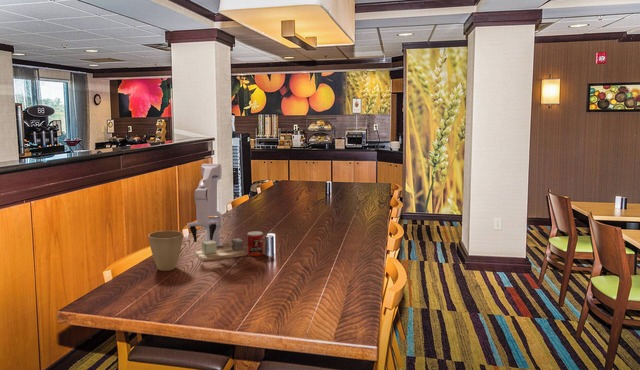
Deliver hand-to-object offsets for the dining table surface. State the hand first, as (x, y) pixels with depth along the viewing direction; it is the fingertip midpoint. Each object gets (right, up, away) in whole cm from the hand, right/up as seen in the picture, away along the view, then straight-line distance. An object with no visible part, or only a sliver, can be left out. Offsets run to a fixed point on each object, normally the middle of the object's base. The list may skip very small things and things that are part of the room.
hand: (203, 240), depth 240 cm
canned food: (+24, -8, +9) cm, 27 cm away
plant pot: (-13, -11, -15) cm, 23 cm away
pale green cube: (+2, -6, +5) cm, 8 cm away
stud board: (+7, -8, +8) cm, 13 cm away
